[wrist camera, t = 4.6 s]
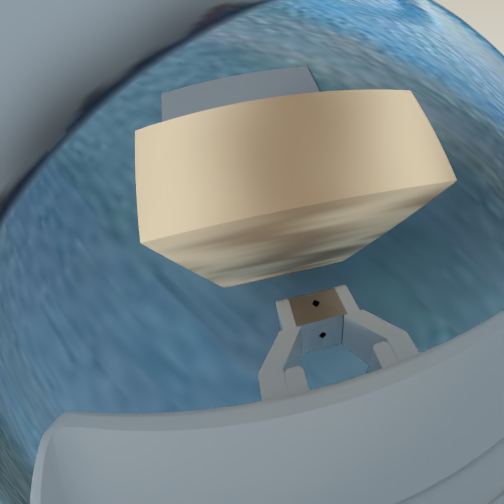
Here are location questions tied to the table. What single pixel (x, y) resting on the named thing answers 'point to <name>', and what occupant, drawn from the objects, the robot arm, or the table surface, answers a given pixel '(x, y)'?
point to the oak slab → (284, 181)
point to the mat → (236, 90)
